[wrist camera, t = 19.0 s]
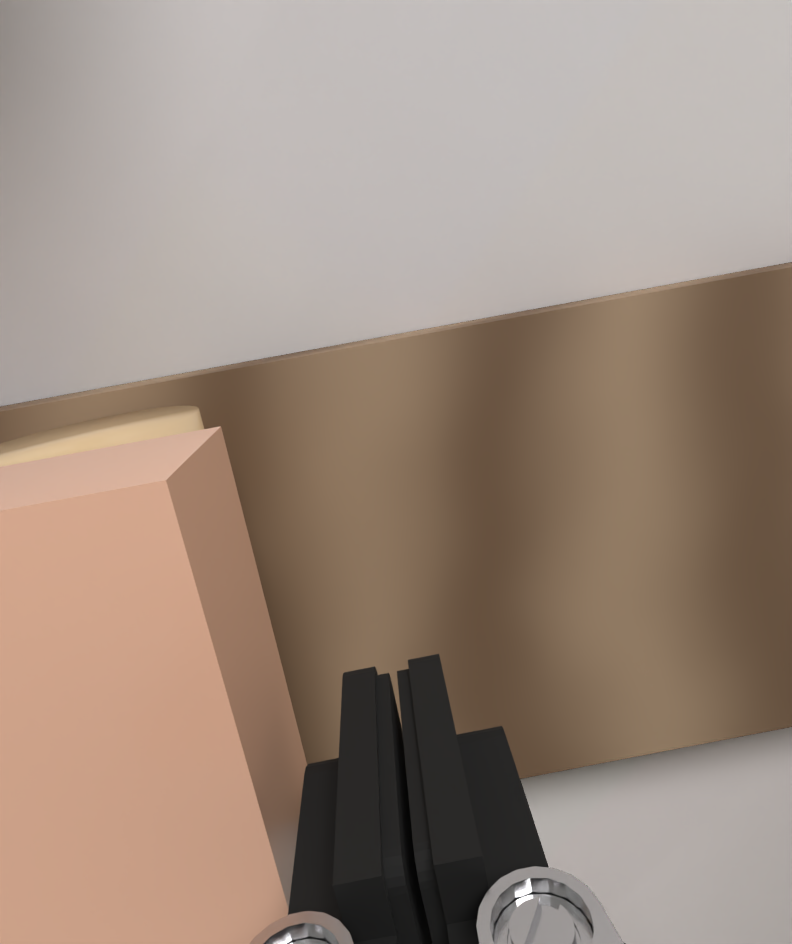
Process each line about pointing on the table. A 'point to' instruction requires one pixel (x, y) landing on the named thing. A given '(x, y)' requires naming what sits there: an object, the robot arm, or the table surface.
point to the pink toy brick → (138, 693)
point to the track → (523, 514)
